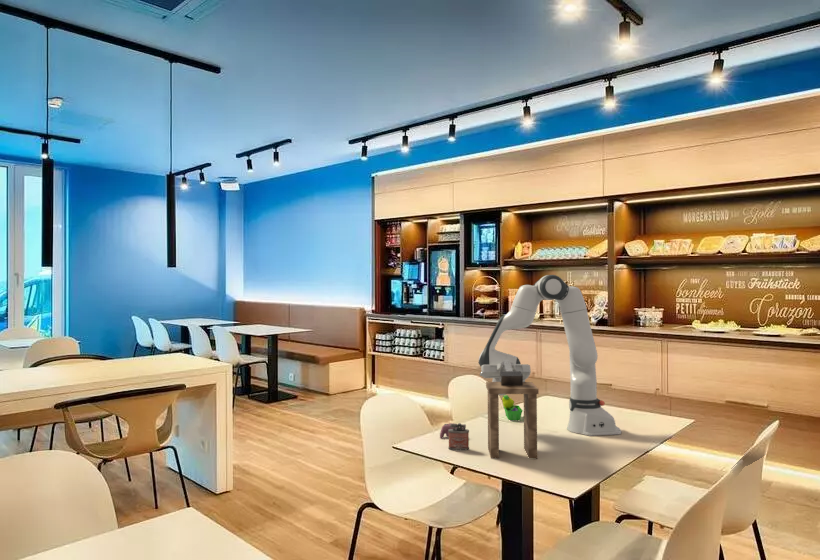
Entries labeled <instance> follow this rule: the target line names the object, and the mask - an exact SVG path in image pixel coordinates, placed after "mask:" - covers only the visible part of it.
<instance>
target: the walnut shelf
mask: <svg viewBox="0 0 820 560" xmlns="http://www.w3.org/2000/svg"><path fill="white" fill-rule="evenodd" d="M485 386H486V387H485V388H486V389H487V448H488V449H487V450H488V454H489V457H490V459H500V433H499V432H500V426H499V425H500V424H499V422H500V421H499V420H500V418H499V417H500V415H499V414H500V413H499V412H500V411H499V410H500V409H499V405H500V404H499V395H498V394H506V395H523V450H524V449H525V450H524V451H526V452H525V454H526V453H527V454H526V455H528V456H527V457H529V458H536V459H535V460H537V459H538V422H537V421H538V404H537V403H538V402H537V401H538V400H537V399H538V398H537V397H538V396H537V395H539V387H537V386H536V385H535V383H533V381H525V382H523V386H501V383H500V382H492V381H485ZM529 458H528V459H529Z"/></svg>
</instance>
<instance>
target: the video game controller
mask: <svg viewBox="0 0 820 560" xmlns="http://www.w3.org/2000/svg"><path fill="white" fill-rule="evenodd" d="M450 424H456V423H455V422H453V423H452V422H450V423H444V424H443V425H442V426H441V429H440V433H439V438H440V439H443V437H444V436H446V437H447V438H449V432H448V430H449V429H453V428H454V427H450ZM455 429H457V427H455Z"/></svg>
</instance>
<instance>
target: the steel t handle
mask: <svg viewBox="0 0 820 560" xmlns="http://www.w3.org/2000/svg"><path fill="white" fill-rule="evenodd" d="M503 362H504V371H500V383H501V386H523V375H522V372H521V371H513V370H512V367H511V364H510V361H509V360H503Z"/></svg>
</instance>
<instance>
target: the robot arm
mask: <svg viewBox="0 0 820 560" xmlns="http://www.w3.org/2000/svg"><path fill="white" fill-rule="evenodd" d="M553 300H554V301H556V302H557V303H558V305H559V306H558V307H559V309H560V313H561V318H562V323H563V328H564V333H565V337H566V342H567V345H568V349H569V376H570V381H569V383H570V385H569V387H570V397H569V401H568V403H569V404H568V405H569V419H568V424H567V428H566V429H567V431H569V432H571V433H576V434H580V435H585V436H590V437H591V436H611V435H612V436H614V435H622V429H621V428H620V427H618V425H616V420H615V417H614V416H613V415H612V414H611V413H609V412H608V411H607V410H606V409H604V408H603V406H605V401H604V400H602V399H600V398H598V396H597V394H598V393H597V392H598V391H597V390H598V389H597V369H596V363H597V362H598V361H597V360H598V356H599V355H598V350H597V348H596V347H597V346H596V343H595V338H594V335H593V330H592V327H591V322H590V318H589V315H588V314H589V313H588V309H587V305H586V302H585V298H584V295H583V293H582V291H581V289H580V288H579V287H578V286H572V285H570V286H569V285H568V284H567V283H566V282H565V281H564V279H562V278H561V277H560V276H558V275H556V274H546V275H544V276H542V277H541V278H539V279H538V280H537V281H535V283H534V284H532V285H531V284H524V285H520V286H519V288H518V290H517V292H516V293H515V296H514V299H513V301H512V304H511V307H510V310H509V311H508V312H507V313H506V314H504V315H502V316H500V318H499V319H498V321H497V323H496V324H495V327H494V329H493V330H492V333H491V335H490V336H489V339H488V341H487V343H486V345H485V347H484V348H483V349H482V351H481V352H480V354H479V357H478V365H479V366H480V368H481V369H480V371H481V372H479V376H480V377H482V378H484V379H491V380H492V381H491V382H500V371H504V362H503V360H509V361H510V364H511V367H512V370H513V371H521V372H522V375H523V382H526V380H527V379H529V377H530V376H531V373H532V371H531V365H530V364H525V363H524V364H521V360H520V358H519V357H518V356H516V355H513V354H510V353H506V352H502V351H499V350H497V349H496V346H497V343H498V342H499V340H500V338H501V337H502V334H503V333H504V332H506V331H508V330H509V331H510V330H519V329H525V328H528V327H530V326H531V325H532V324H533V321H534V320H535V317H536V314H537V310H538V307H539V305H540V303H541V302H542V301H553ZM505 395H507V394H498V396H505Z"/></svg>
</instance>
